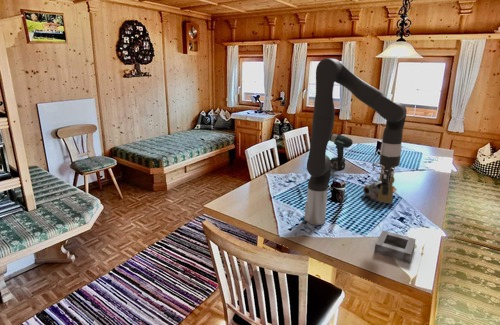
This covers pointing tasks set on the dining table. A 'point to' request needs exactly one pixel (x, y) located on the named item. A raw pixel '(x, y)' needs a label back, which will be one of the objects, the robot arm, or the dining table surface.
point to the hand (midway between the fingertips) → (385, 192)
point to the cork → (388, 197)
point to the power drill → (339, 150)
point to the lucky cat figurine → (374, 190)
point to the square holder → (395, 246)
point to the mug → (381, 170)
